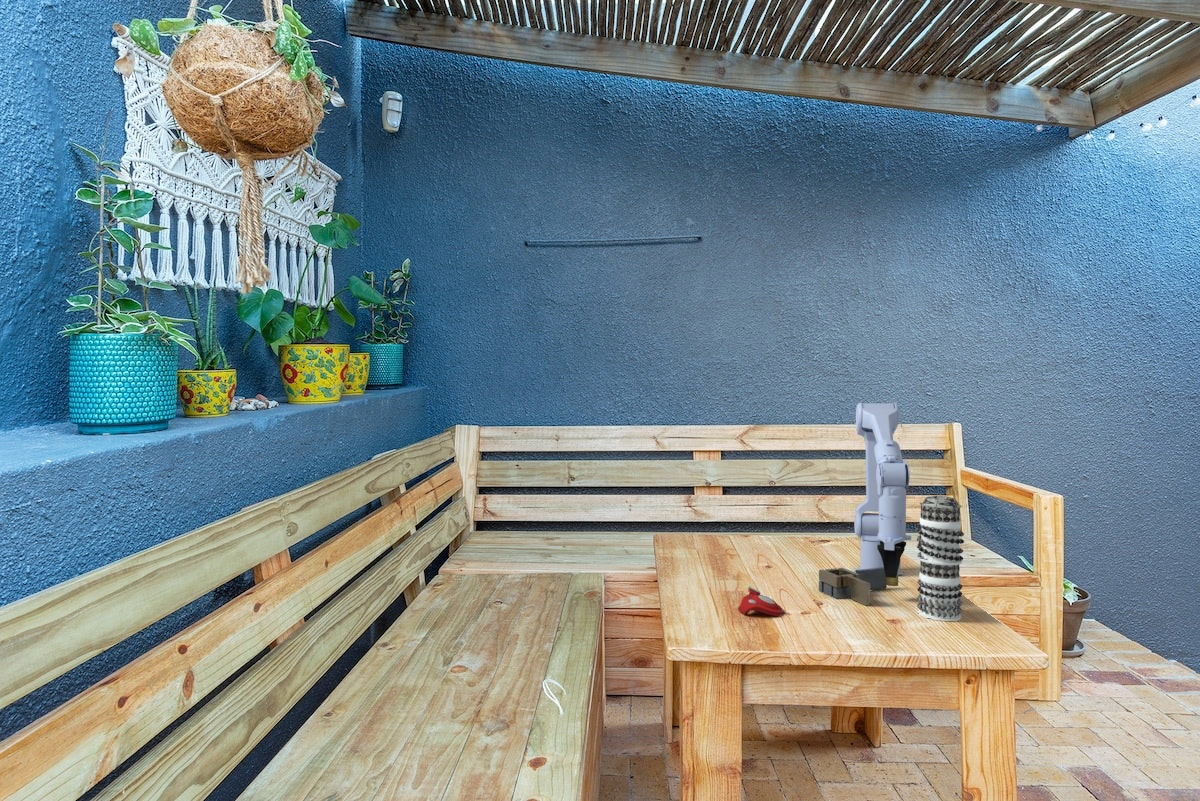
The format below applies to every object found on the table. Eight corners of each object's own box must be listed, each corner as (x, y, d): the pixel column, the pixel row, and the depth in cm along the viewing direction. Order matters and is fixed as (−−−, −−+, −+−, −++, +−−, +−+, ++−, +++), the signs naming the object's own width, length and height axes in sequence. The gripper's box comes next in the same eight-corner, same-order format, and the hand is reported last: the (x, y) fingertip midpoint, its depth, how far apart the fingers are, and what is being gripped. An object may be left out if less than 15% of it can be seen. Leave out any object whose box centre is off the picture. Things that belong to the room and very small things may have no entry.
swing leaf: (818, 590, 170) (818, 570, 170) (842, 587, 172) (842, 567, 172) (855, 606, 158) (855, 585, 157) (880, 603, 160) (880, 582, 160)
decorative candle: (905, 611, 155) (906, 495, 154) (937, 606, 158) (938, 493, 158) (941, 624, 146) (942, 502, 146) (973, 618, 150) (974, 499, 149)
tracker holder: (793, 609, 154) (761, 605, 149) (786, 628, 154) (753, 625, 149) (756, 583, 164) (724, 578, 159) (750, 600, 165) (717, 597, 159)
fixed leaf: (836, 599, 164) (836, 577, 164) (818, 591, 170) (818, 570, 170) (894, 592, 169) (895, 571, 169) (875, 584, 175) (875, 564, 175)
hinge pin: (892, 581, 165) (892, 544, 165) (903, 585, 162) (904, 547, 162) (879, 583, 164) (879, 545, 164) (890, 587, 161) (890, 548, 161)
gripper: (909, 522, 154) (909, 585, 155) (913, 511, 167) (912, 569, 168) (874, 520, 157) (874, 581, 158) (880, 509, 170) (880, 566, 171)
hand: (891, 575), depth 163 cm, fingers closed on hinge pin, 3 cm apart
